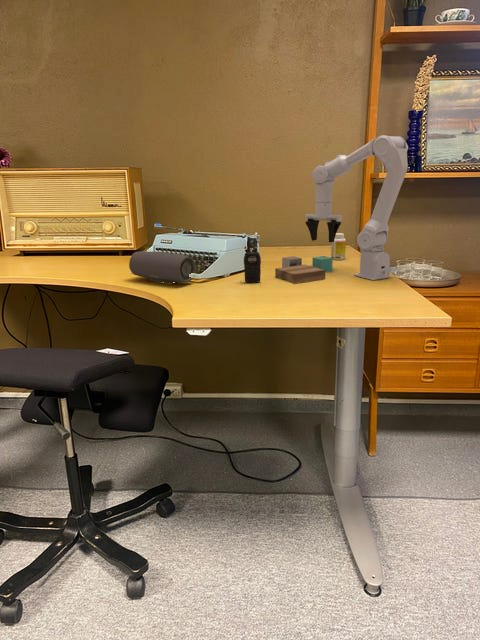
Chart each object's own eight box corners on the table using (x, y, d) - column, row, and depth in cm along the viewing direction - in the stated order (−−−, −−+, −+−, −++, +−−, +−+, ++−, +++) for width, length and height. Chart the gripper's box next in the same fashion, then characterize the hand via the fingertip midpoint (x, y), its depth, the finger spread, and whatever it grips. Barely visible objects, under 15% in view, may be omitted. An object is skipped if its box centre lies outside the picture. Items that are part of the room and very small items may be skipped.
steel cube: (301, 272, 169) (301, 258, 167) (289, 273, 166) (289, 259, 165) (293, 269, 173) (293, 256, 171) (282, 271, 171) (282, 257, 169)
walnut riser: (325, 279, 156) (325, 270, 155) (295, 283, 151) (295, 274, 150) (304, 273, 166) (304, 264, 165) (275, 277, 161) (275, 268, 160)
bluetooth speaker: (198, 282, 156) (196, 252, 153) (179, 288, 149) (177, 257, 146) (148, 276, 168) (146, 248, 166) (129, 281, 161) (126, 252, 158)
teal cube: (332, 271, 167) (332, 257, 166) (320, 273, 165) (321, 259, 164) (323, 269, 172) (323, 256, 170) (312, 271, 170) (312, 257, 168)
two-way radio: (244, 283, 153) (243, 237, 148) (244, 280, 157) (243, 235, 153) (261, 283, 153) (260, 236, 148) (260, 280, 157) (260, 234, 153)
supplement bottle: (347, 259, 190) (349, 233, 187) (339, 260, 187) (340, 234, 184) (337, 257, 195) (338, 232, 191) (328, 259, 191) (328, 233, 188)
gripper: (347, 201, 163) (346, 241, 166) (313, 201, 173) (313, 238, 177) (335, 203, 158) (334, 243, 162) (301, 202, 168) (301, 240, 172)
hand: (322, 241), depth 169 cm, fingers open, 7 cm apart
